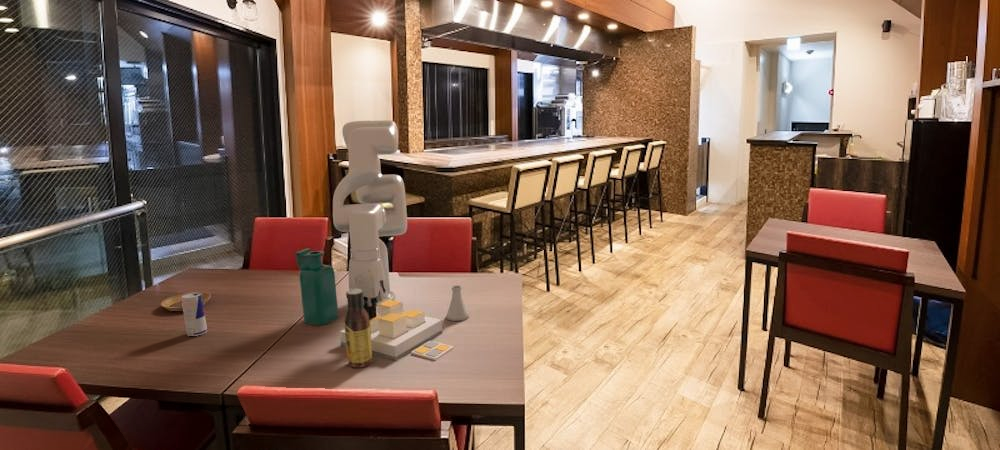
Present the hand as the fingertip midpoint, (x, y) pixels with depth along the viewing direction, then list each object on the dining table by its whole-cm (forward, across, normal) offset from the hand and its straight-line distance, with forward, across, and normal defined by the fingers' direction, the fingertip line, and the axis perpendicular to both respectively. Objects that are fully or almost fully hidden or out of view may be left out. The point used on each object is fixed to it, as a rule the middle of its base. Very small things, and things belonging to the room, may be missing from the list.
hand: (370, 317), depth 153 cm
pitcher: (+7, -26, +4) cm, 27 cm away
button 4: (+5, +8, +8) cm, 12 cm away
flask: (+7, +11, +26) cm, 29 cm away
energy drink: (+7, -50, -21) cm, 55 cm away
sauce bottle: (+7, +7, -12) cm, 15 cm away
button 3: (+3, +8, 0) cm, 9 cm away
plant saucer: (+7, -76, -9) cm, 77 cm away
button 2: (+3, 0, +8) cm, 9 cm away
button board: (+7, +4, +4) cm, 9 cm away
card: (+7, +19, +3) cm, 20 cm away
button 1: (+5, 0, 0) cm, 5 cm away
